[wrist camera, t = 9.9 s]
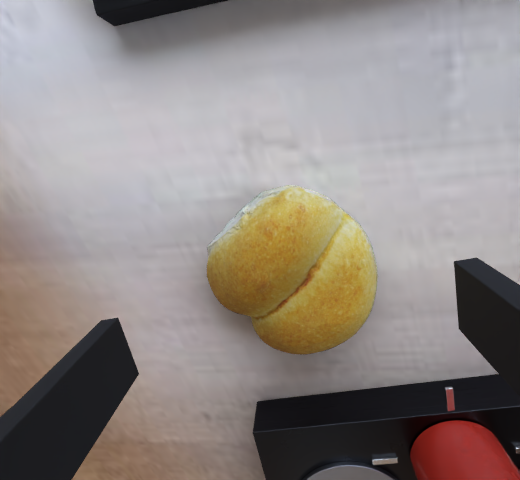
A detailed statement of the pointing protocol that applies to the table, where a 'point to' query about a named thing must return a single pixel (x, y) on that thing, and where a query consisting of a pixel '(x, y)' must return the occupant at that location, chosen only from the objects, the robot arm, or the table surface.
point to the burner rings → (349, 472)
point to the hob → (378, 424)
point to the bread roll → (295, 270)
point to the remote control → (142, 8)
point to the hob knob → (461, 454)
